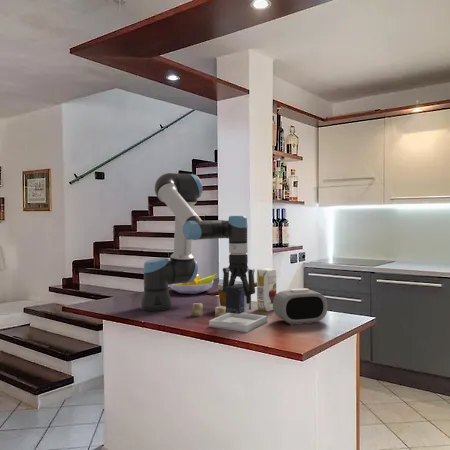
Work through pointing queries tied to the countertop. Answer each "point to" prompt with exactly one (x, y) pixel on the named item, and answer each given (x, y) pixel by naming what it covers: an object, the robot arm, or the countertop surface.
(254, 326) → the tray
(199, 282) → the fruit bowl
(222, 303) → the disposable coffee cup
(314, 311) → the alarm clock
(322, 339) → the countertop surface
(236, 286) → the small box
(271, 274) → the juice carton
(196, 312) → the beech post
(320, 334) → the countertop surface
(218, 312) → the beech cube
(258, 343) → the countertop surface
